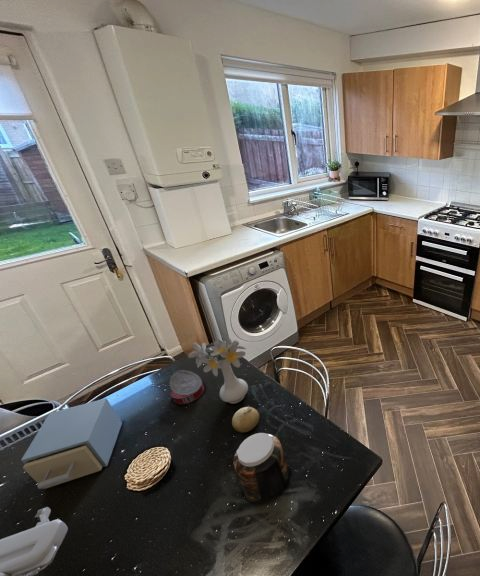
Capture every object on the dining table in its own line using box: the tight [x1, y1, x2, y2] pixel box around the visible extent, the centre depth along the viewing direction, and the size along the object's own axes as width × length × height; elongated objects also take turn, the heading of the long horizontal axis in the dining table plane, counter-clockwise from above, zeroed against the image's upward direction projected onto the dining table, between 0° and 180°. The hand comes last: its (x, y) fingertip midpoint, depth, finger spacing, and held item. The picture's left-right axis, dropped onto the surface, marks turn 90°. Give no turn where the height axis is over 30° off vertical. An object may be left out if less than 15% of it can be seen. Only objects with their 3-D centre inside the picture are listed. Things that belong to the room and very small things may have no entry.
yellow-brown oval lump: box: [231, 404, 260, 433], centre depth 99 cm, size 8×8×7 cm
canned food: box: [168, 369, 205, 405], centre depth 112 cm, size 11×10×10 cm
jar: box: [232, 432, 290, 504], centre depth 82 cm, size 12×12×15 cm
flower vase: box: [187, 335, 249, 405], centre depth 105 cm, size 13×18×25 cm
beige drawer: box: [22, 444, 103, 490], centre depth 87 cm, size 19×13×10 cm, turn 24°
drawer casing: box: [20, 397, 123, 469], centre depth 91 cm, size 16×14×12 cm
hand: (17, 519), depth 67 cm, fingers open, 8 cm apart
